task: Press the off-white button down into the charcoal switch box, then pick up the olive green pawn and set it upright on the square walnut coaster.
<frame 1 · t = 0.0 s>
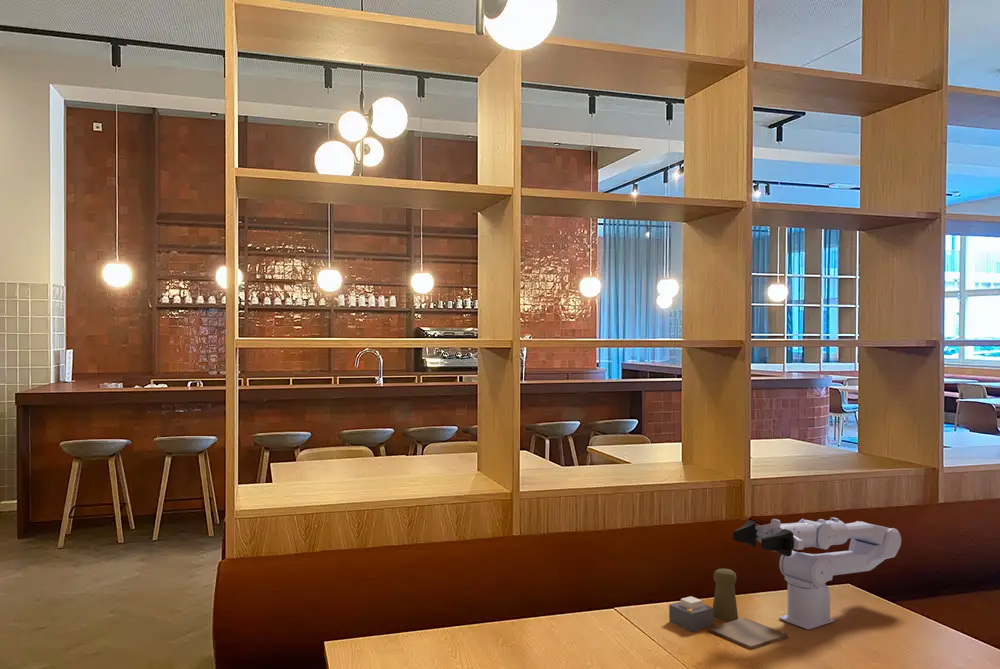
hand: (748, 539, 168), 22 cm above the table, tool horizontal, fingers open, 7 cm apart
coaster: (747, 634, 171), on the table
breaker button: (691, 605, 177), point 4 cm above the table, slide at 0.0 cm
switch box: (691, 623, 177), on the table
olive green pawn: (724, 617, 181), on the table
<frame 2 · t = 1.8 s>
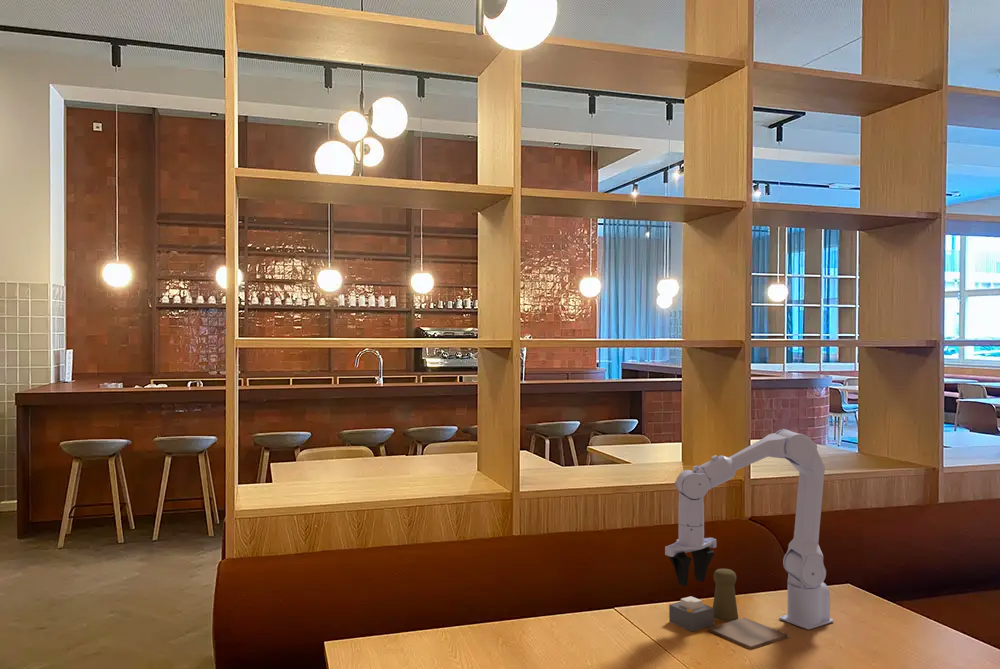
hand: (691, 582, 177), 9 cm above the table, tool pointing down, fingers open, 5 cm apart
nothing on the table moved.
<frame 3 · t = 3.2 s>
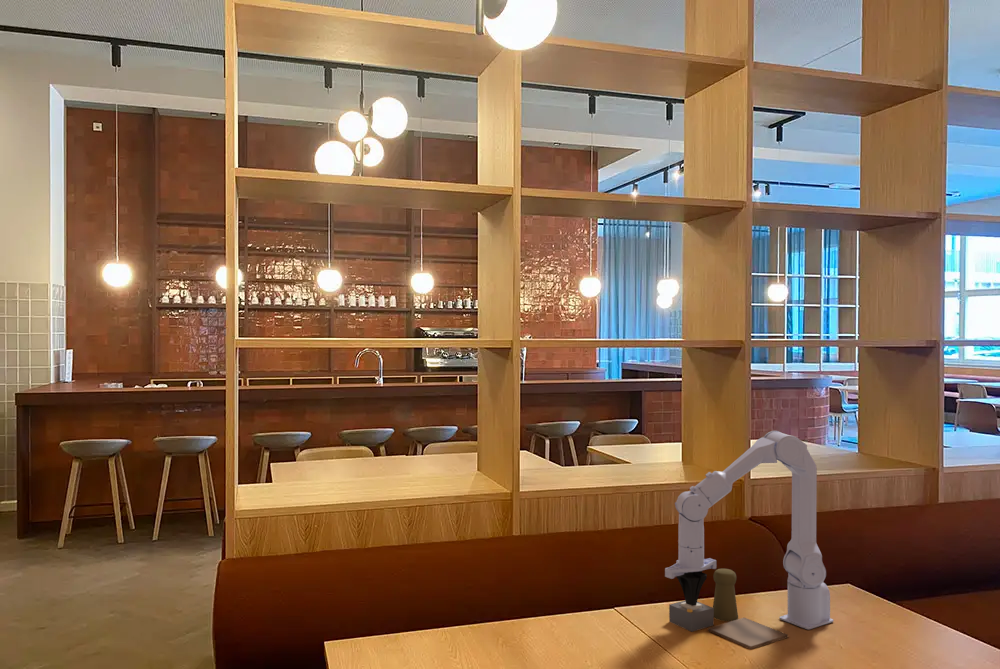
hand: (691, 604, 177), 4 cm above the table, tool pointing down, fingers closed, pressing on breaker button
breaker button: (691, 610, 177), point 3 cm above the table, slide at 1.0 cm, touching gripper
everything else where it was.
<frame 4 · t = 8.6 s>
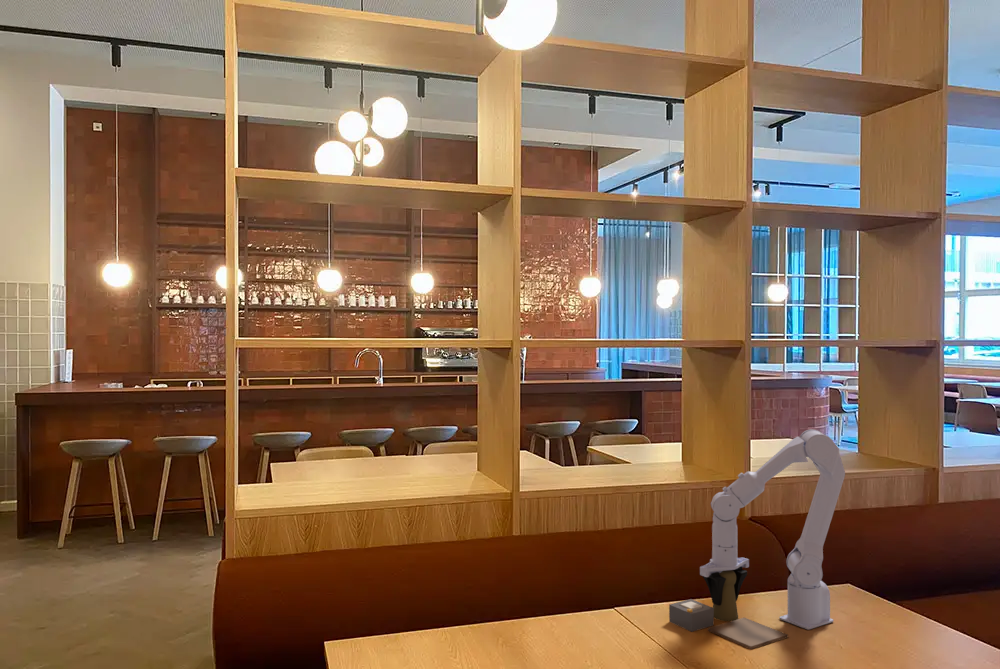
hand: (724, 601, 181), 3 cm above the table, tool pointing down, fingers closed on olive green pawn, 5 cm apart
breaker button: (691, 611, 177), point 3 cm above the table, slide at 1.2 cm
olive green pawn: (724, 617, 181), on the table, touching gripper
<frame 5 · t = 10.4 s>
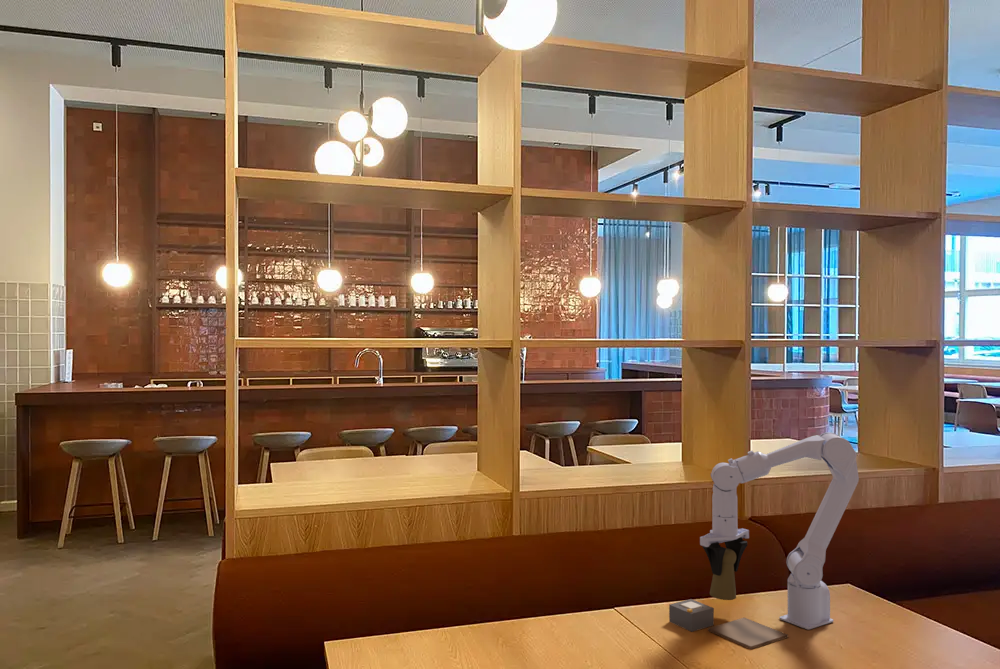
hand: (725, 572, 181), 10 cm above the table, tool pointing down, fingers closed on olive green pawn, 5 cm apart
olive green pawn: (722, 596, 181), point 5 cm above the table, touching gripper
everything else where it was.
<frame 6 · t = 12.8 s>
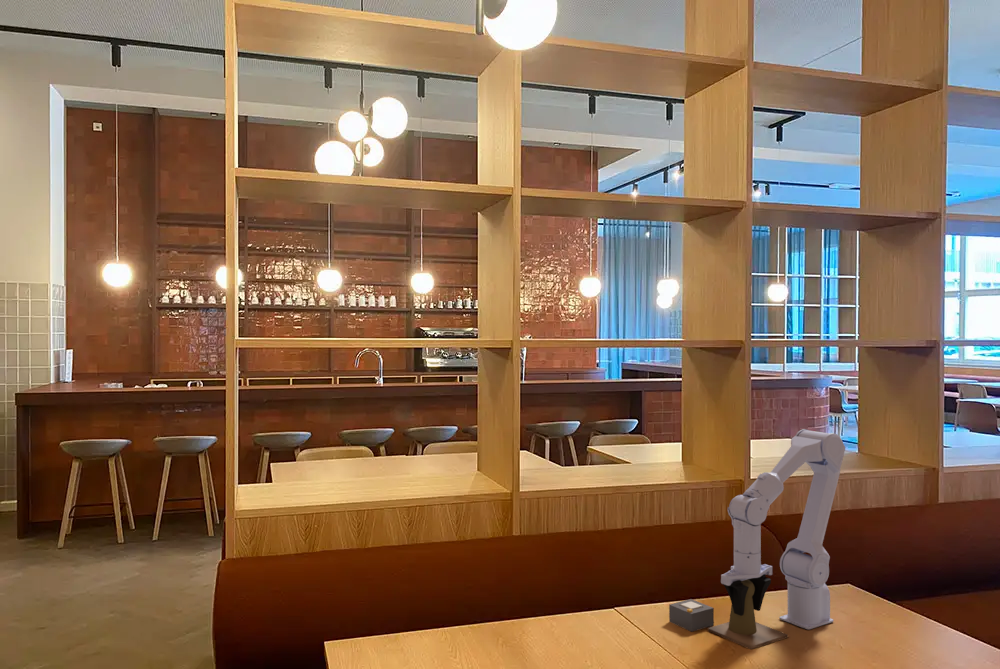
hand: (747, 611, 171), 5 cm above the table, tool pointing down, fingers closed on olive green pawn, 5 cm apart
olive green pawn: (742, 630, 172), resting on coaster, touching gripper
everything else where it was.
when the fingers open (5 cm above the table, at t = 13.3 s): olive green pawn stays where it is, resting on coaster.
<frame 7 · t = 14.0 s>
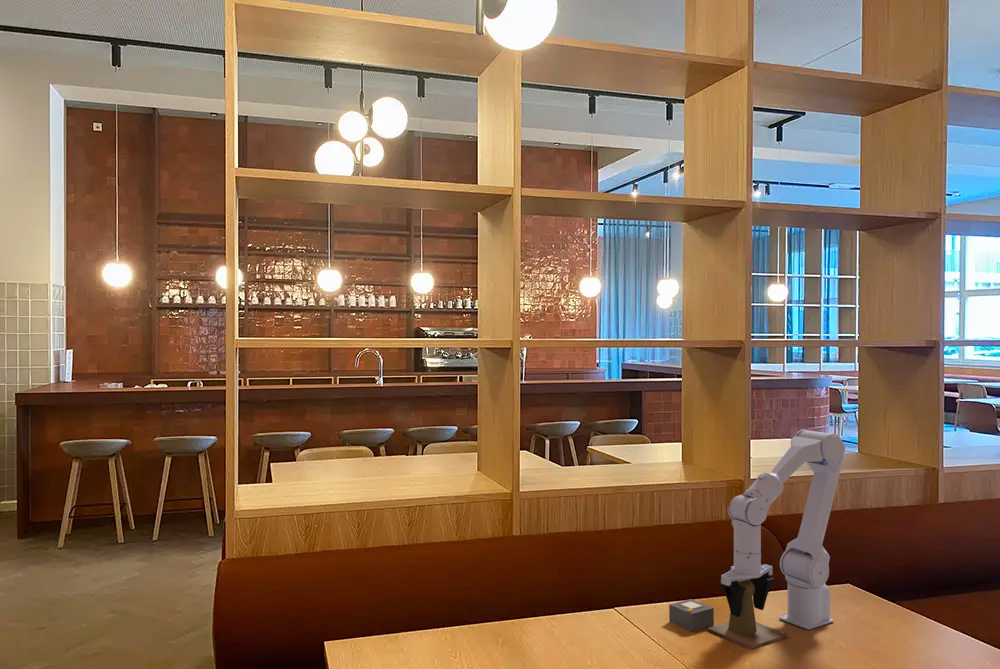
hand: (747, 611, 171), 5 cm above the table, tool pointing down, fingers open, 7 cm apart
olive green pawn: (742, 630, 172), resting on coaster
everything else where it was.
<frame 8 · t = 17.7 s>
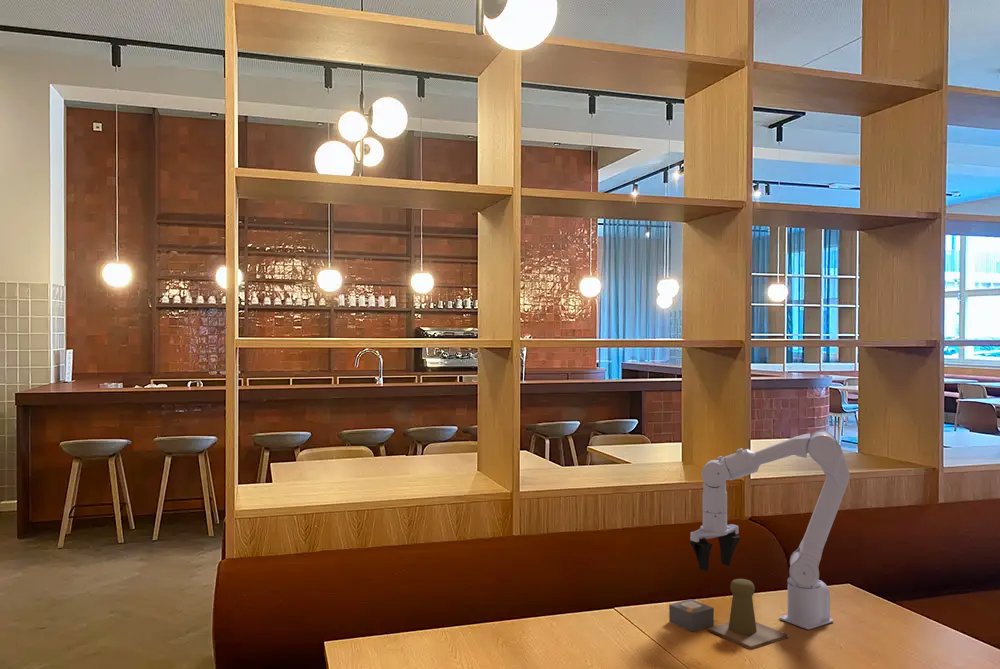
hand: (714, 567, 185), 10 cm above the table, tool pointing down, fingers open, 7 cm apart
nothing on the table moved.
at the end: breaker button slide at 1.2 cm; olive green pawn 1.3 cm off-centre on the coaster, point 0.4 cm above the coaster's base; olive green pawn tilted 0° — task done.
